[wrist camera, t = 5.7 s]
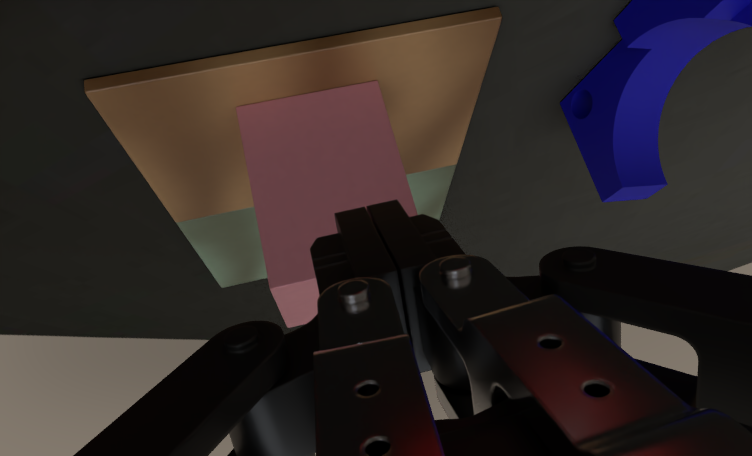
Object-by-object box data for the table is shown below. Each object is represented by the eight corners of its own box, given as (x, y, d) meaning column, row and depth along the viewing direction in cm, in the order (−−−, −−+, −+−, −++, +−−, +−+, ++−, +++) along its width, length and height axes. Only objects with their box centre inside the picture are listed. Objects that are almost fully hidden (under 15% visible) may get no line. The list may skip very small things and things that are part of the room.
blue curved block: (724, -100, 22) (809, 30, 20) (802, -83, 24) (887, 37, 21) (537, 103, 32) (579, 204, 30) (602, 103, 34) (646, 198, 31)
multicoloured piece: (220, 280, 44) (221, 288, 44) (83, 79, 22) (83, 92, 22) (430, 233, 46) (432, 241, 46) (498, 5, 24) (503, 17, 24)
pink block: (257, 174, 30) (287, 328, 27) (235, 106, 25) (269, 289, 22) (374, 151, 31) (415, 298, 28) (377, 79, 25) (429, 253, 23)
